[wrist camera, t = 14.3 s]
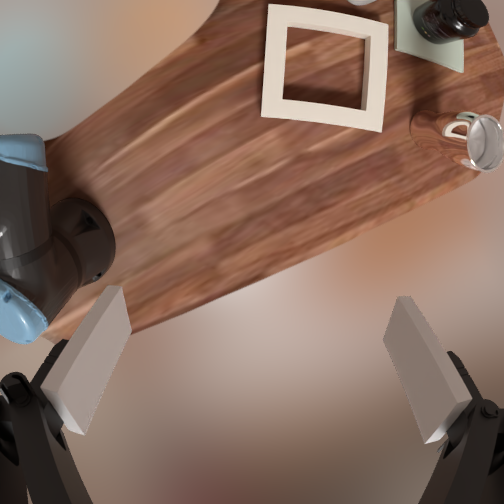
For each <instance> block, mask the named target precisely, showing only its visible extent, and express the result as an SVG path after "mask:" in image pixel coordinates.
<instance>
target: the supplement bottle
mask: <svg viewBox="0 0 504 504" xmlns="http://www.w3.org/2000/svg"><path fill="white" fill-rule="evenodd" d="M488 20H489V14H488V11H487V9H486V7H485V5H484V3H483V2H482V1H481V0H428V1H427V2H425V3H423V4H421V5H420V6H418V7H417V8H416V9H415V10H414V13H413V22H414V25H415V27H416V29H417V31H418V32H419V34H420V35H421V36H422V37H423V38H424V39H426V40H427V41H429V42H431V43H433V44H438V45H441V44H446V43H450V42H454V41H458V40H462V39H466V38H470V37H473V36H475V35H476V34H477V33H478V31H479V28H481V27H483V26H486V25H487V23H488Z"/></svg>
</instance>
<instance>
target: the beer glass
mask: <svg viewBox="0 0 504 504" xmlns="http://www.w3.org/2000/svg"><path fill="white" fill-rule="evenodd" d="M410 132H411V136H412V138H413V140H414V142H415V143H416V144H417V145H418V146H419V147H421V148H423V149H426V150H437V151H438V152H440V153H441V154H442V155H444V156H445V157H447V158H448V159H450V160H451V161H453V162H455V163H457V164H459V165H461V166H464V167H467V168H470V169H474V170H478V171H481V172H484V173H491V172H494V171H495V170H497V169H498V168H499V167H500V165H501V164H502V162H503V160H504V130H503V128H502V126H501V124H500V123H499V122H498V120H496V119H495V118H494V117H492V116H490V115H485V114H482V113H478V112H474V111H468V110H454V111H448V112H444V113H440V114H437V113H435V112H432V111H429V110H422V111H419V112H418V113H416V114H415V115H414V117H413V118H412V121H411V124H410Z"/></svg>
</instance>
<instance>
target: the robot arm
mask: <svg viewBox="0 0 504 504" xmlns="http://www.w3.org/2000/svg"><path fill="white" fill-rule="evenodd" d="M47 172H48V168H47V166H46V156H45V144H44V141H43V140H42V138H41V137H40V136H38V135H36V134H12V135H11V134H10V135H0V334H1V335H2V336H4V337H5V338H7V339H9V340H10V341H13V342H16V343H19V344H29V343H32V342H33V341H34V340H35V339H36V338H37V337H38V336H39V335H40V334H41V333H42V332H43V331H45V330H46V329H47V328H48V326H49V325H50V323H51V322H52V321H53V319H54V318H55V317H56V315H57V314H58V313H59V312H60V310H61V309H62V308H63V307H64V305H65V304H66V303H67V302H68V300H69V299H70V298H71V297H72V295H73V294H74V293H75V292H76V291H77V289H79V288H81V287H84V286H86V285H88V284H91V283H93V282H95V281H97V280H99V279H100V278H101V277H102V276H103V275H104V274H105V273H106V272H107V271H108V270H109V268H110V267H111V265H112V263H113V261H114V257H115V239H114V235H113V232H112V229H111V227H110V225H109V223H108V221H107V220H106V218H105V217H104V215H103V214H102V213H101V212H100V211H99V210H98V209H97V208H96V207H95V206H93V205H92V204H90V203H89V202H87V201H84V200H82V199H78V198H68V199H64V200H62V201H60V202H58V203H57V204H55V205H53V206H52V207H51V208H50V207H49V195H48V181H47ZM131 332H132V330H131V326H130V321H129V317H128V313H127V309H126V304H125V300H124V295H123V290H122V286H111V285H108V286H107V287H106V288H105V290H104V291H103V292H102V294H101V295H100V297H99V298H98V299H97V301H96V302H95V304H94V305H93V306H92V308H91V309H90V311H89V312H88V314H87V315H86V316H85V318H84V319H83V321H82V322H81V324H80V325H79V327H78V328H77V330H76V331H75V333H74V334H73V336H72V337H71V339H70V340H65V339H62V340H61V341H60V342H59V343H57V344H56V345H55V346H54V347H53V348H52V350H51V351H50V353H49V356H47V357H46V359H45V360H44V363H43V364H42V365H41V367H40V368H39V370H38V371H37V373H36V375H35V376H34V378H33V379H32V381H31V382H30V383H29V382H28V380H27V378H26V376H25V375H23V374H22V373H19V372H13V373H10V374H8V375H6V376H5V377H4V378H3V379H2V380H1V382H0V392H1V394H2V395H0V504H28V497H27V488H28V491H29V494H30V497H31V500H32V503H33V504H93V503H92V501H91V498H90V497H89V495H88V492H87V490H86V488H85V486H84V484H83V481H82V480H81V477H80V475H79V472H78V470H77V468H76V465H75V463H74V460H73V458H72V455H71V453H70V451H69V448H68V445H67V442H66V439H65V436H64V433H63V432H62V430H61V428H62V425H63V423H64V424H65V425H66V426H67V428H68V429H69V430H70V431H72V432H75V433H79V434H82V435H86V432H87V430H88V427H89V425H90V422H91V420H92V417H93V415H94V413H95V410H96V408H97V406H98V403H99V401H100V399H101V396H102V394H103V392H104V390H105V387H106V385H107V383H108V381H109V378H110V376H111V374H112V372H113V370H114V367H115V365H116V363H117V361H118V359H119V357H120V355H121V352H122V350H123V348H124V346H125V344H126V342H127V340H128V338H129V336H130V334H131ZM383 341H384V343H385V346H386V348H387V350H388V352H389V355H390V357H391V359H392V362H393V364H394V366H395V369H396V371H397V373H398V376H399V378H400V380H401V383H402V385H403V388H404V390H405V393H406V395H407V398H408V400H409V403H410V406H411V408H412V411H413V414H414V416H415V419H416V421H417V424H418V427H419V430H420V432H421V435H422V438H423V441H424V443H425V444H426V443H429V442H433V441H437V440H440V439H441V437H442V436H443V435H444V434H445V433H446V432H447V434H448V437H449V438H448V439H447V440H446V441H445V442H444V443H443V444H442V446H441V447H440V448H439V449H438V451H437V452H440V451H441V450H442V449H443V450H442V453H441V455H440V457H439V460H438V462H437V465H436V467H435V470H434V472H433V474H432V476H431V479H430V481H429V483H428V485H427V487H426V489H425V491H424V493H423V495H422V498H421V499H420V501H419V503H418V504H504V409H499V408H498V406H497V405H496V404H495V403H494V402H492V401H491V400H487V399H483V398H482V397H481V394H480V393H479V391H478V389H477V387H476V386H475V384H474V382H473V380H472V378H471V377H470V375H468V372H467V370H466V369H465V368H464V365H463V363H462V362H461V360H460V358H459V357H457V356H456V355H455V354H454V353H453V352H452V351H448V352H446V351H445V349H444V347H443V346H442V344H441V342H440V341H439V339H438V338H437V336H436V335H435V333H434V331H433V330H432V328H431V327H430V325H429V323H428V322H427V321H426V319H425V317H424V316H423V314H422V313H421V311H420V310H419V308H418V307H417V305H416V304H415V302H414V301H413V299H412V298H411V296H407V297H406V296H401V297H397V300H396V303H395V306H394V309H393V312H392V315H391V318H390V321H389V324H388V327H387V330H386V333H385V335H384V338H383ZM26 485H27V486H26Z"/></svg>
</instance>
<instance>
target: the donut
mask: <svg viewBox="0 0 504 504" xmlns="http://www.w3.org/2000/svg"><path fill="white" fill-rule="evenodd" d="M348 1H349V2H350V3H352V4H354V5H365V4H369V3H371V2H373V1H376V0H348Z"/></svg>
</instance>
